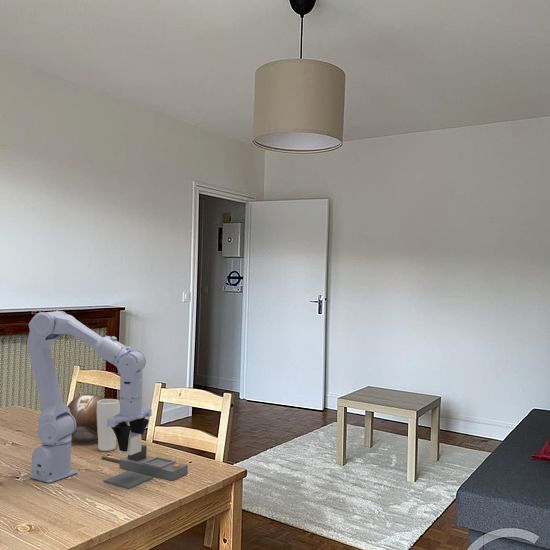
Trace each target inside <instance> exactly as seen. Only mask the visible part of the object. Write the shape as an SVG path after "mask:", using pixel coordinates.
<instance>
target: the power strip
mask: <svg viewBox="0 0 550 550" xmlns="http://www.w3.org/2000/svg"><path fill="white" fill-rule="evenodd" d="M101 459H102V460H105V461H108V462H113V463H116V464H118V465H119V466H118V467H119V469H122V470H126V471H132V472H136V473H140V474H144V475H148V476H152V477H153V478H154V477H155V478H158V479H163V480H168V481H172V482H173V481H175V480H177V479H180V478H182V477H184V476H185V475H188V471H189V468H188V467H189V466H188V464H184V463H181V462H176V460H175V459H174V460H173V459H171V458H170V459H169V458H165V457H160V456H156V457H154V456H149V455H147V445H145V444H142V443H141V451H140V452H138V453H135V454H133V455H127V456H125V457H122V458H120V459H118V458H114V457H109V456H104V455H102V456H101Z"/></svg>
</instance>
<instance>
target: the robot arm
mask: <svg viewBox="0 0 550 550" xmlns="http://www.w3.org/2000/svg"><path fill="white" fill-rule="evenodd" d="M27 324H28V328H29V333H28V337H27V338H28V339H27V344H26V345H27V346H26V347H27V351H28V355H29V360H30V364H31V368H32V371H33V376H34V377H33V378H34V381H35V384H36V389H37V393H38V398H39V401H40V406H41V411H40V413H39V415H38V418H37V421H38V429H37V436H38V439H39V440H40V441H41V444H40V446H39V445H38V446H37V447H36V448H34V449H33V452H32V455H31V474H30V475H29V478H30V479H32V480H33V479H34V480H37V481H41V482H45V483H48V484H50V483H54V482H56V481H58V480H63V479H65V478H68V477H70V476H72V475H75V474H78V470H75V469H71V465H72V464H71V463H72V462H71V461H72V438H73V436H72V433H73V432H74V431H75V429H76V420H75V418H74V417H73V416H72V414H71V413H70V409H69V407H68V405H67V404H65V403H64V400H63V397H62V393H61V388H60V385H59V381H58V376H57V372H56V368H55V363H54V360H53V359H54V358H53V355H52V351H51V346H52V345H53V344H54V342H55V341H56V339H57V338H59V337H60V336H61V335H71V336H72V337H74V338H76V339H78V340H80V341H82V342H83V343H85V344H87V345H89V346H91V347H92V348H94V351H95V354H96V356H99V357H100V358H102V359H103V360H105V361H107V362H108V363H110V364H112V365H113V366H115V367H116V369H117V371H118V373H119V374H120V376H119V414H117V415H115V416H113V417H111V418H108V419H107V426H109V427H111V428H112V429H113V431H114V433H115V435H116V442H117V446H118V445H119V450H120V451H124V452H126V451H127V449H128V439H129V434H130V432H133V433H138V434H141V440H142V438H143V434H144V432H145V429H146V428H147V426H148V424H149V422H150V421H149V419H148V418H149V417H152V414H153V413H152V412H153V411H152V410H153V409H152V408H146V407H145V408H142V407H143V406H142V403H143V399H142V398H143V369H144V368H145V367H146V363H147V360H146V356H145V355H144V354H143V352H141V351H140V350H138V349H135V350H132V347H130V346H129V345H128V346H127V345H125V344H122V343H121V342H119V341H118V338H117V337H116V336H115V335H114V336H110V335H106V336H101V335H99V334H98V333H97V332H95V331H94V330H92V329H91V328H89V327H87V325H85V324H83V323H82V322H81V321H79V320H77V319H76V318H75V317H74V316H73V315H71V314H67V313H66V312H65V311H62V310H56V311H48V312H47V311H46V312H45V311H41V312H38V313H36V314H35V315H34V316H33V317H32V318H31V320H30V321H29V323H27ZM146 417H148V418H146ZM128 424H129V425H128Z"/></svg>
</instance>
